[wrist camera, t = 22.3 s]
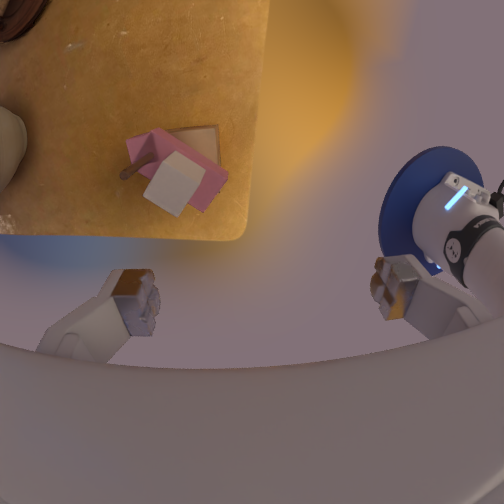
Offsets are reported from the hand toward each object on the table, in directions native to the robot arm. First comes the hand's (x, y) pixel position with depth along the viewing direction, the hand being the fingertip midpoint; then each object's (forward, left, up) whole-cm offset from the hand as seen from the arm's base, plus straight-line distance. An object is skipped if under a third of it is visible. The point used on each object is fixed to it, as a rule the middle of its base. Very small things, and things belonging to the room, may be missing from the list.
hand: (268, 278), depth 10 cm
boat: (+8, +1, -24) cm, 25 cm away
